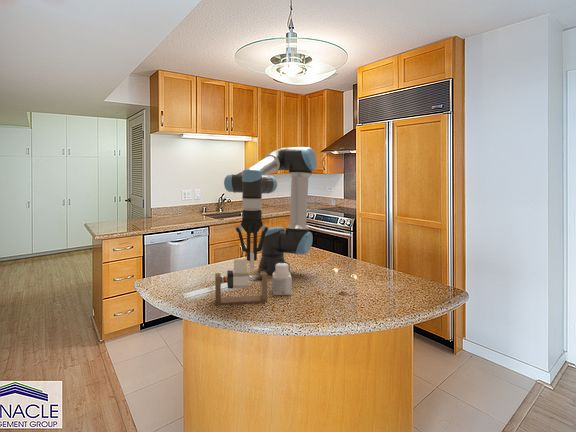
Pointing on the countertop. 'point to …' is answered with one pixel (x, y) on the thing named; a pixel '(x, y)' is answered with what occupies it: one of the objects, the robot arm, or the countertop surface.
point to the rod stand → (241, 299)
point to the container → (281, 279)
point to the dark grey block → (230, 279)
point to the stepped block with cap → (240, 274)
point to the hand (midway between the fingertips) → (251, 268)
